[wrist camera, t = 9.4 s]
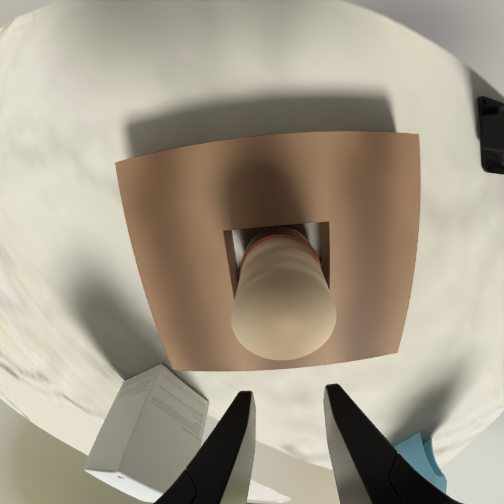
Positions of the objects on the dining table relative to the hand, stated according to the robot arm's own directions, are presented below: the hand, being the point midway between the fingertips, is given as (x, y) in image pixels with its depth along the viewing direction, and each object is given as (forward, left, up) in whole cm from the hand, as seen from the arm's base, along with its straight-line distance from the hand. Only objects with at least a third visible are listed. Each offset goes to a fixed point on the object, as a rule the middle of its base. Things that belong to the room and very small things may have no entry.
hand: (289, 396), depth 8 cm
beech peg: (0, 0, -12) cm, 12 cm away
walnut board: (0, 0, -12) cm, 12 cm away
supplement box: (+13, +15, -12) cm, 23 cm away
